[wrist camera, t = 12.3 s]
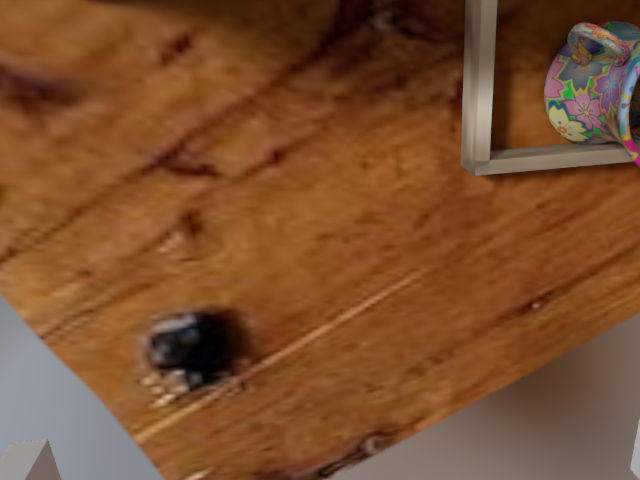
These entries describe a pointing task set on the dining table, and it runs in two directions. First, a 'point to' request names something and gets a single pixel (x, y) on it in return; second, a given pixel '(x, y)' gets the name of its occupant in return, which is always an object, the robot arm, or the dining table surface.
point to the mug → (597, 86)
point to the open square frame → (480, 111)
